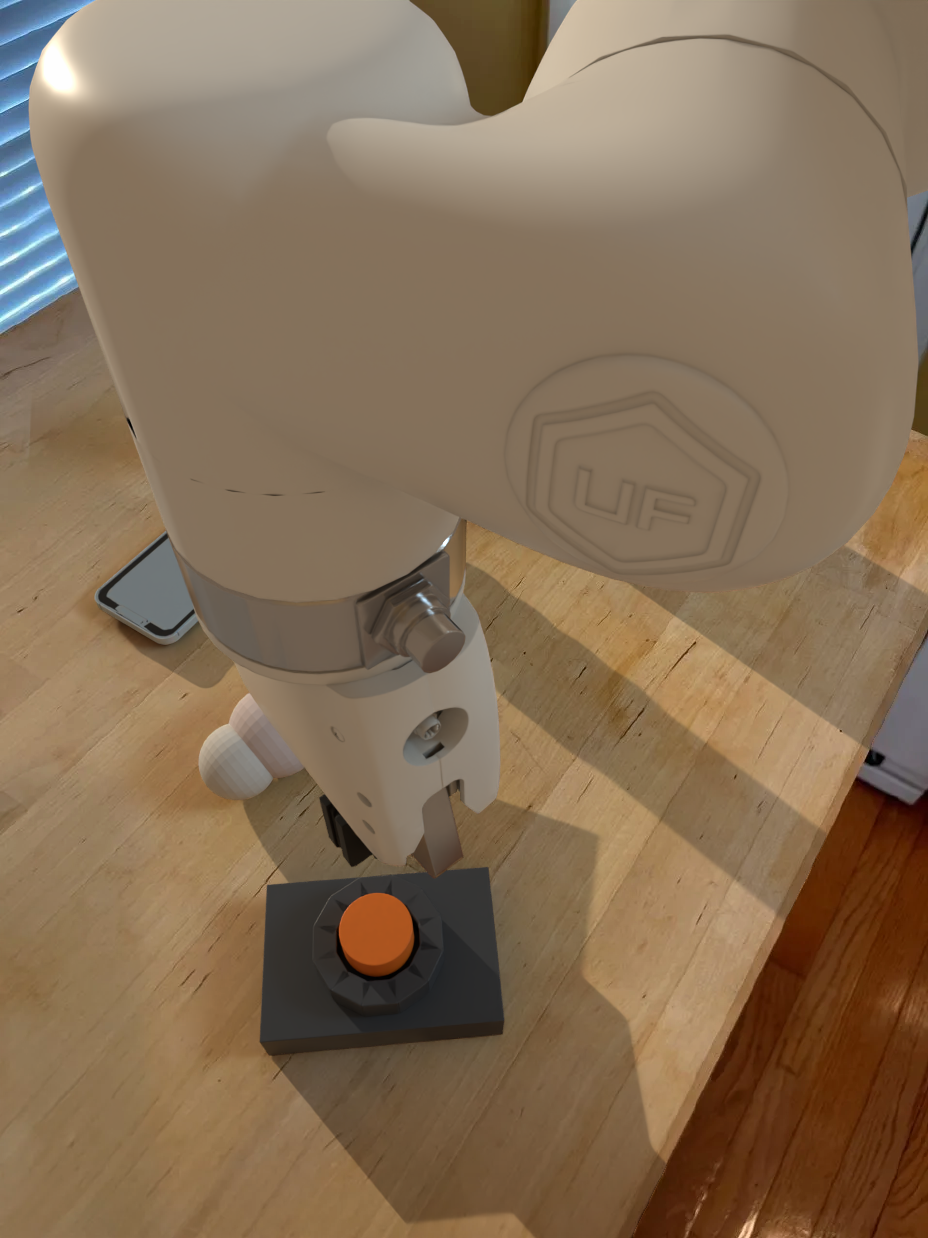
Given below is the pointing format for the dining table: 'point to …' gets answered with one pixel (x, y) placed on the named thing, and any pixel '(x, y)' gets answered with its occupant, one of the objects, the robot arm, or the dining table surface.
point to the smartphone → (150, 594)
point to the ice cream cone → (245, 754)
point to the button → (376, 934)
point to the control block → (385, 1005)
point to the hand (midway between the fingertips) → (372, 832)
